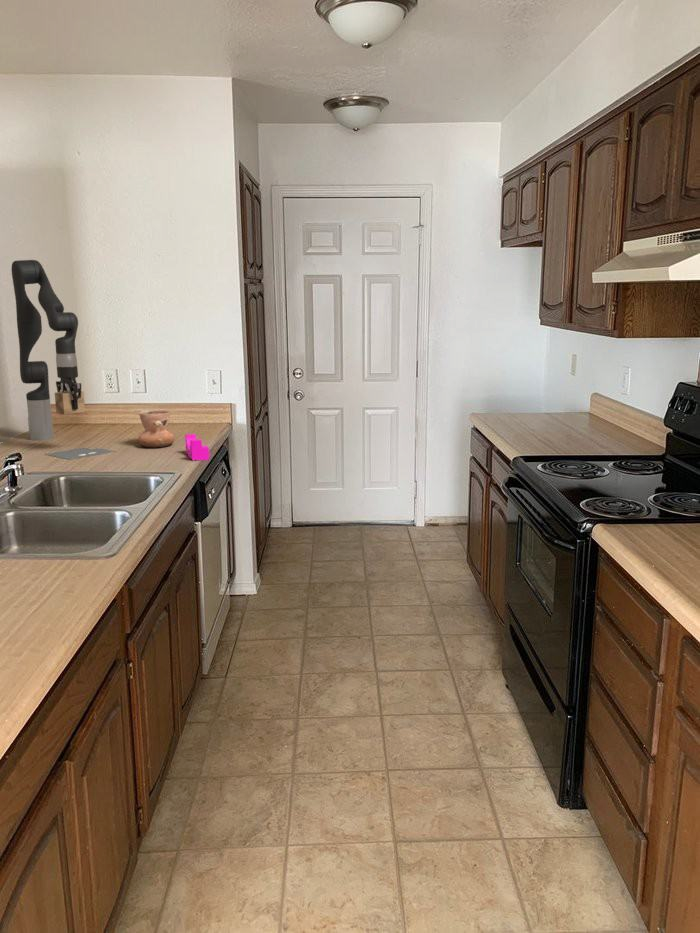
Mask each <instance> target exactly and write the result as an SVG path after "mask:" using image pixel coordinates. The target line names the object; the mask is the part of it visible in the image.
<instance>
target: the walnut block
mask: <svg viewBox="0 0 700 933" xmlns="http://www.w3.org/2000/svg"><path fill="white" fill-rule="evenodd" d="M72 392H74V391H72ZM77 395H78V393H77ZM73 397H74V394H73ZM54 401H55V402H54V403H55V413H56V414H59V415H65V416H66V415H71V414H72V415H73V414H78V413H85V412H86V408H85V394H84V391H83V390H81V398H79V399H78V400H77V401H78V409H76V410H73V409H72V403H71V395H70V394H69V393H68V392H61V391H60V392H58V391H57V392H56V391H55V392H54Z"/></svg>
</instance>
